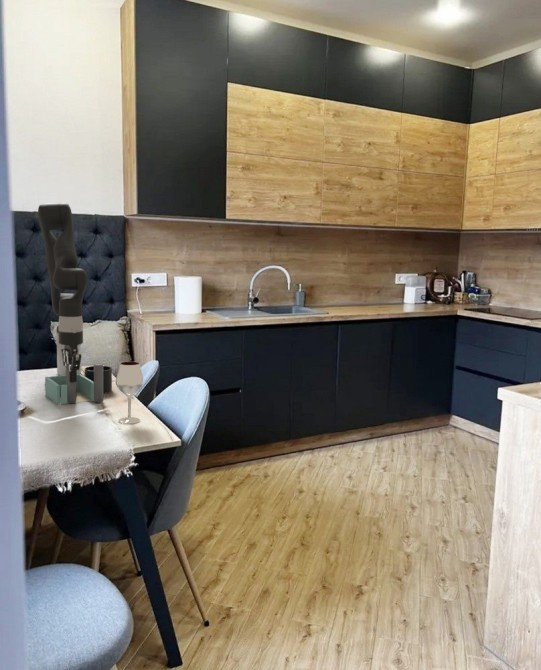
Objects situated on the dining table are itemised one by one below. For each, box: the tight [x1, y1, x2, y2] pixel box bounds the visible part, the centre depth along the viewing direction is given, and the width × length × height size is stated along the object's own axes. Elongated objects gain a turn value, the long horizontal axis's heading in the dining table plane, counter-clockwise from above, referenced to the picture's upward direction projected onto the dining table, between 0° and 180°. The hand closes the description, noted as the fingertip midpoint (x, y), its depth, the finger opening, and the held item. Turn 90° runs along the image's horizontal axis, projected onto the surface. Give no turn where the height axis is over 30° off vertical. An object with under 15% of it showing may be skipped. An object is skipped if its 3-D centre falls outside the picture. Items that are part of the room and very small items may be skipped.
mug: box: [84, 365, 113, 395], centre depth 202 cm, size 9×12×9 cm
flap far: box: [90, 363, 104, 404], centre depth 186 cm, size 3×5×13 cm, turn 57°
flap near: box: [60, 364, 77, 405], centre depth 183 cm, size 3×5×13 cm, turn 127°
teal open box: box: [44, 373, 93, 406], centre depth 191 cm, size 14×12×7 cm
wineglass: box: [115, 361, 144, 425], centre depth 169 cm, size 8×8×18 cm
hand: (71, 380), depth 184 cm, fingers closed on flap near, 3 cm apart
